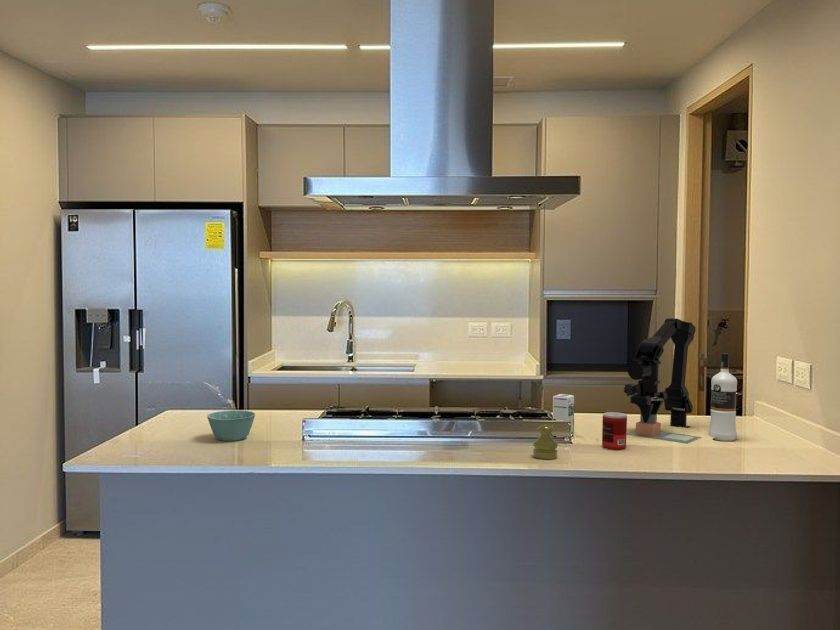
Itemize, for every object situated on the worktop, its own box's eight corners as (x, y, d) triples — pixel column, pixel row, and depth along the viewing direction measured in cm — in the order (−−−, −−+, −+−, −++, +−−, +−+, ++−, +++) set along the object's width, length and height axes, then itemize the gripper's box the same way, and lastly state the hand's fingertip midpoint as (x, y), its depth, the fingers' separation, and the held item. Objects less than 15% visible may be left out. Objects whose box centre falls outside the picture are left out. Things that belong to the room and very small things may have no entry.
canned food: (628, 446, 245) (628, 413, 245) (623, 451, 238) (624, 417, 238) (604, 443, 249) (605, 411, 248) (599, 448, 241) (600, 415, 241)
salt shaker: (531, 453, 233) (532, 422, 232) (555, 454, 233) (556, 422, 232) (534, 459, 226) (535, 426, 225) (559, 460, 225) (559, 427, 225)
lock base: (641, 431, 271) (641, 421, 271) (702, 440, 257) (702, 430, 257) (624, 437, 260) (625, 427, 260) (687, 446, 246) (687, 436, 246)
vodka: (742, 440, 257) (745, 354, 255) (722, 442, 253) (725, 354, 252) (722, 435, 265) (725, 351, 264) (702, 437, 262) (704, 352, 260)
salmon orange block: (643, 430, 266) (643, 411, 266) (660, 433, 262) (661, 414, 262) (635, 433, 261) (636, 414, 261) (653, 436, 257) (653, 416, 257)
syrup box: (567, 438, 256) (568, 396, 255) (551, 436, 259) (552, 395, 259) (574, 436, 261) (575, 394, 260) (558, 433, 264) (559, 393, 263)
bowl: (220, 446, 238) (220, 420, 238) (199, 437, 250) (198, 413, 250) (263, 439, 248) (264, 415, 248) (241, 432, 260) (241, 408, 260)
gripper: (638, 373, 273) (637, 415, 274) (616, 377, 259) (615, 422, 260) (668, 375, 266) (667, 419, 267) (647, 380, 252) (646, 426, 253)
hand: (648, 421), depth 262 cm, fingers open, 5 cm apart
